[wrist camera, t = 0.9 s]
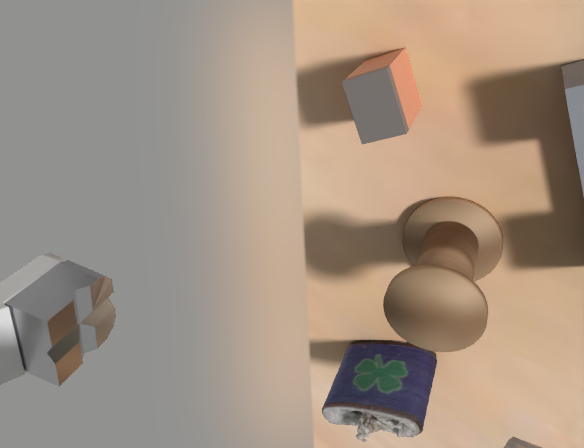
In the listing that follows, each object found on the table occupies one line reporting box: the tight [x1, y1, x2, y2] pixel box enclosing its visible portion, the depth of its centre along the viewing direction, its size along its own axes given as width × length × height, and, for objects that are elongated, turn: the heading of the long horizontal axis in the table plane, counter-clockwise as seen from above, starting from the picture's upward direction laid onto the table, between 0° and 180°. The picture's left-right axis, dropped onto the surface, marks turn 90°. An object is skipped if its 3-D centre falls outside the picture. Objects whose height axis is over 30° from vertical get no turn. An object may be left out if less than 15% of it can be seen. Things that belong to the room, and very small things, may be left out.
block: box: [341, 48, 422, 144], centre depth 37 cm, size 4×3×6 cm
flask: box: [322, 340, 437, 442], centre depth 49 cm, size 9×3×11 cm, turn 103°
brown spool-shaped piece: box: [383, 197, 503, 352], centre depth 40 cm, size 8×8×10 cm
